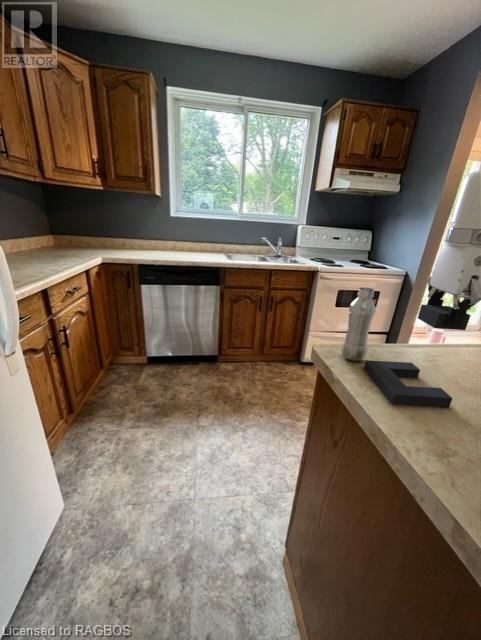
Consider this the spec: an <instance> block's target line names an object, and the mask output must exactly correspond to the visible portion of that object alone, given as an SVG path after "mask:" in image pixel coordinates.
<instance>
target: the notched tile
mask: <svg viewBox="0 0 481 640" xmlns="http://www.w3.org/2000/svg"><path fill="white" fill-rule="evenodd" d="M363 365H364V366H363V369H364V371H365V372H366V374H367V375H368V376H369V377H370V379H371V380H372V381H373V382H374V384H375V385H376V387H377V388H378V389H379V390H380V391H381V393H382V394H383V395H384V397H385V398H386V399H387V400H388V402H389V403H390V404H391V405H392V406H406V407H407V406H410V407H426V408H444V409H450V407H451V404H452V401H453V397H452V396H451V395H450V394H449V393H447V392H446V391H445V390H444V389H443V388H442V387H432V386H413V385H406V384H405V383H404V382H403V381H402V380H401V379H418V378H419V375H420V371H421V369H420V368H419V367H417V365H415V364H414V363H413V362H405V361H390V360H389V361H387V360H368V359H367V360H366V359H365V360H364V364H363ZM400 378H401V379H400Z"/></svg>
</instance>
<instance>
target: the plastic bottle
mask: <svg viewBox="0 0 481 640" xmlns="http://www.w3.org/2000/svg"><path fill="white" fill-rule="evenodd" d="M374 294H375V289H374V288H370V287H359V288H358V292H357V298H355V299H354V300H353V301H352V302H351V303H350V305H349V306H348V307H349V308H348V311H349V312H348V323H347V330H346V334H345V337H344V340H343V342H342V345H341V355H342V357H343V358H345V359H347V360H349V361H353V362H360V361H362V360H364V359H365V358H366V355H367V354H368V352H367V351H368V338H369V333H370V328H371V325H372V323H373V320H374V317H375V315H376V311H377V310H376V308H377V307H376V306H375V303H374V301H373V298H374V297H375V295H374Z"/></svg>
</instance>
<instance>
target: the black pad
mask: <svg viewBox="0 0 481 640" xmlns="http://www.w3.org/2000/svg"><path fill="white" fill-rule="evenodd" d="M450 308H453V306H450V305H442V306H439V305H427V304H420V309H419V312H418V315H417V319H418V320H420V321H421V322H423V323H425V324H427V325H428V326H430V327H432V328H433V329H439V330H454V331H455V330H456V331H466V329H467V327H468V324H469V321H470V318H471V314H469V313H468V312H466V315H465V318H464V320H463V323H462V326H461V327H448V326H446V325H445V322H446V319H447V316H448V313H449V310H450Z"/></svg>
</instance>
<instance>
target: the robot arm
mask: <svg viewBox="0 0 481 640" xmlns="http://www.w3.org/2000/svg"><path fill="white" fill-rule="evenodd" d="M454 206H455V207H454V210H453V213H452V217H451V219H450V220H451V221H450V223H449V226H448V230H447V234H446V236H445V240H444V244H443V246H442V248H441V250H440V252H439V255H438V256H437V260H436V262H435V265H434V267H433V270H432V274H431V276H430V277H429V278H427V279H426V283H427V290H428V294H427V298H428V300H427V302H426V305H439V306H443V304H444V299H443V298H444V296H445V295H446V294H449V295H452V307H453V308H450V310H449V313H448V316H447V319H446V322H445V325H446V326H448V327H461V326H462V323H463V320H464V318H465V315H466V313H468V311H470V310H471V308H472V307H474V306H476V304H478V303H480V302H481V170H476V171H473V172H470V173H468V174H467V175H466V176H465V177H464V179H463V181H462V184H461V185H460V190H459V193H458V198H457V200H456V204H455V205H454ZM461 299H463V300H461Z"/></svg>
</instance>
